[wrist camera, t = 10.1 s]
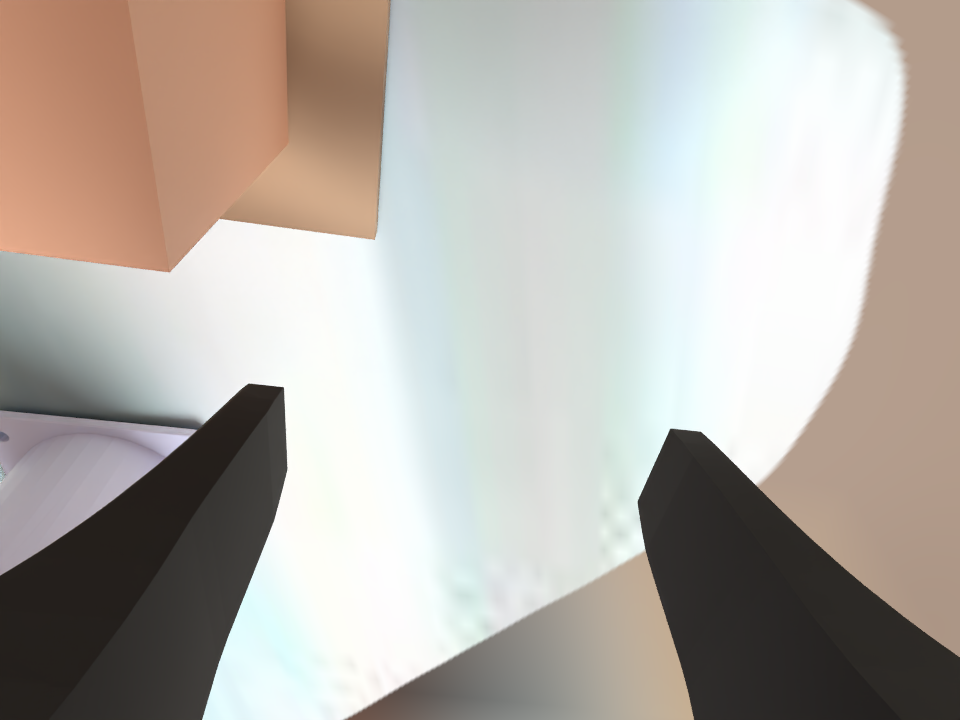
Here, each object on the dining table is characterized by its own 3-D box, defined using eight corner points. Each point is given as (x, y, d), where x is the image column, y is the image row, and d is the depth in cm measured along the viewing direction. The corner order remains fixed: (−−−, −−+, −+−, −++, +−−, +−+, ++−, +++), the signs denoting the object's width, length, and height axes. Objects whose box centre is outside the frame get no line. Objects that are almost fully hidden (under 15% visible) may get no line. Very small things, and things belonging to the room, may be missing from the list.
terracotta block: (288, 143, 16) (169, 272, 10) (98, 113, 16) (-164, 229, 9) (283, -79, 13) (110, -109, 7) (51, -124, 13) (-375, -203, 6)
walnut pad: (376, 231, 18) (374, 239, 18) (38, 186, 17) (25, 192, 17) (401, -195, 13) (399, -201, 12) (-97, -302, 12) (-121, -313, 11)
